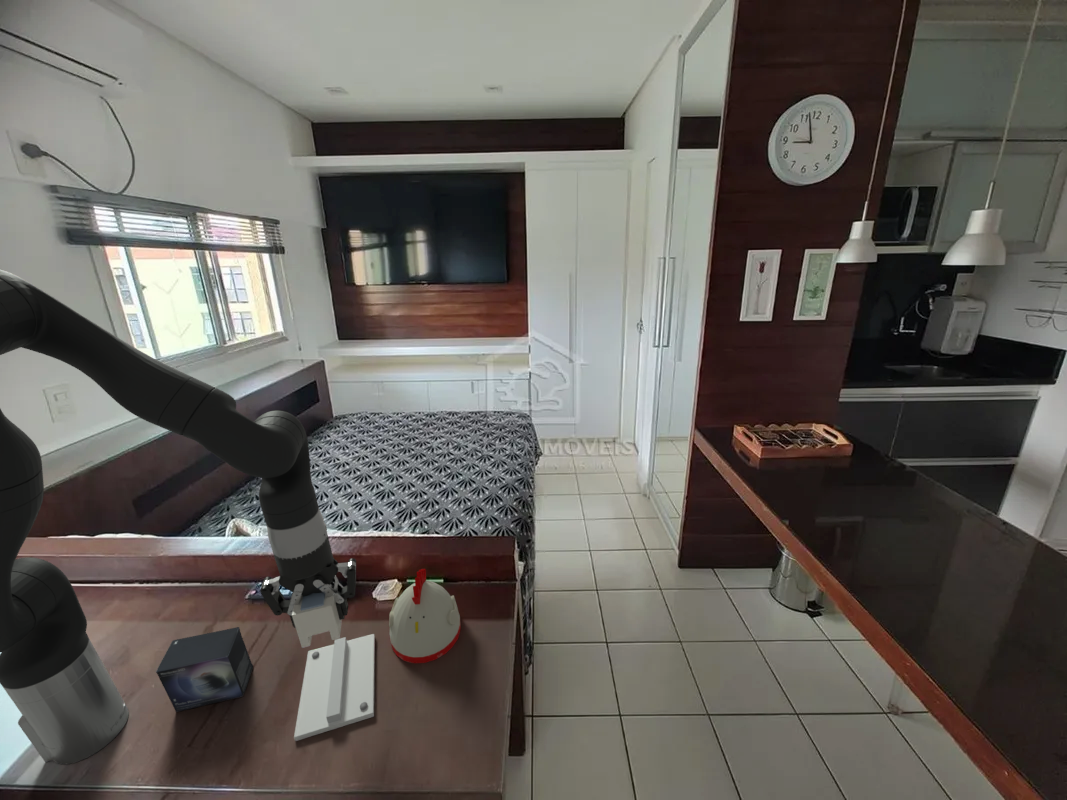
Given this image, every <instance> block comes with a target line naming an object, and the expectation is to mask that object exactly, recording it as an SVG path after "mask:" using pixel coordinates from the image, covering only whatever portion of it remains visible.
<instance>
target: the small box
mask: <svg viewBox="0 0 1067 800" xmlns="http://www.w3.org/2000/svg"><path fill="white" fill-rule="evenodd" d="M249 654H250V653H249V652H248V649H247V646H246V644H245V641H244V638H243V636H242V633H241V629H240V627H239V626H235V627H231V628H228V629H227V628H226V629H221V630H217V631H212V632H207V633H203V634H197V635H193V636H187V637H184V638H177V639H173V640H172V641H171V643H170V644H169V647H168V648H167V650H166V651H165V654H164V656H163V657H162V660H161V661H160V663H159V665H158V667H157V669H156V670H155V673H156V675H157V676H158V678H159V681H160V682H161V684H162V687H163V689H164V692H166V694H167V696H168V698H169V701H170V703H171V705H172V707H173V709H174V712H176V713H178V712H183V711H187V710H190V709H196V708H199V707H204V706H207V705H213V704H217V703H222V702H224V701H229V700H235V699H238V698H242V697H244V695H245V693H246V690H247V687H248V683H249V680H250V678H251V675H252V672H253V669H254V665H253V662H252V660H251V658H250V655H249Z"/></svg>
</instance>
